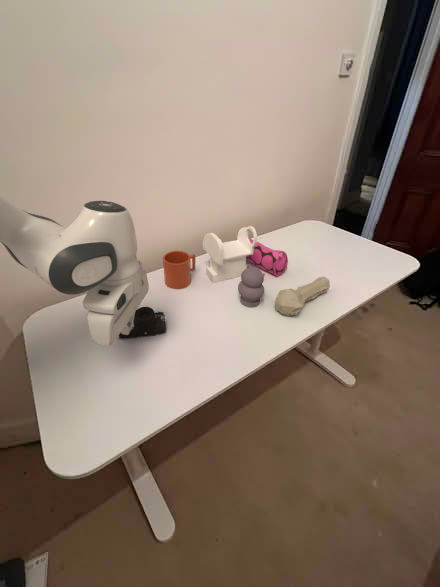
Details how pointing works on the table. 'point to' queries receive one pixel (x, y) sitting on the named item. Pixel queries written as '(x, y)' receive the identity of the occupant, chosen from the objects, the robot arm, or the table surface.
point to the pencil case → (268, 259)
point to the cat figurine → (251, 286)
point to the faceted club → (300, 296)
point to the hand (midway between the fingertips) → (127, 330)
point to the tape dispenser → (228, 254)
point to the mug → (178, 269)
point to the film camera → (146, 323)
